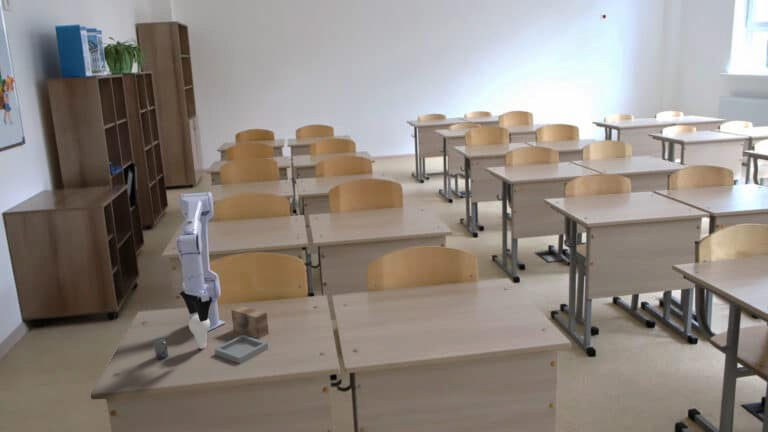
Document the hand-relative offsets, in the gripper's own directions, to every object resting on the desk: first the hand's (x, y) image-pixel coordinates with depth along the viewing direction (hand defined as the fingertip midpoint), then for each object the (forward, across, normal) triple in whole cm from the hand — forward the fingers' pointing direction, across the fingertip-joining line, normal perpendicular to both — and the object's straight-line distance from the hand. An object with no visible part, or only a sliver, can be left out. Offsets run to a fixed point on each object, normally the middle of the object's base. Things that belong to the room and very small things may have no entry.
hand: (198, 316), depth 189 cm
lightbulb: (+11, 0, 0) cm, 11 cm away
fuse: (+10, +3, +11) cm, 16 cm away
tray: (+10, -10, -8) cm, 17 cm away
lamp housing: (+10, 0, -16) cm, 20 cm away
